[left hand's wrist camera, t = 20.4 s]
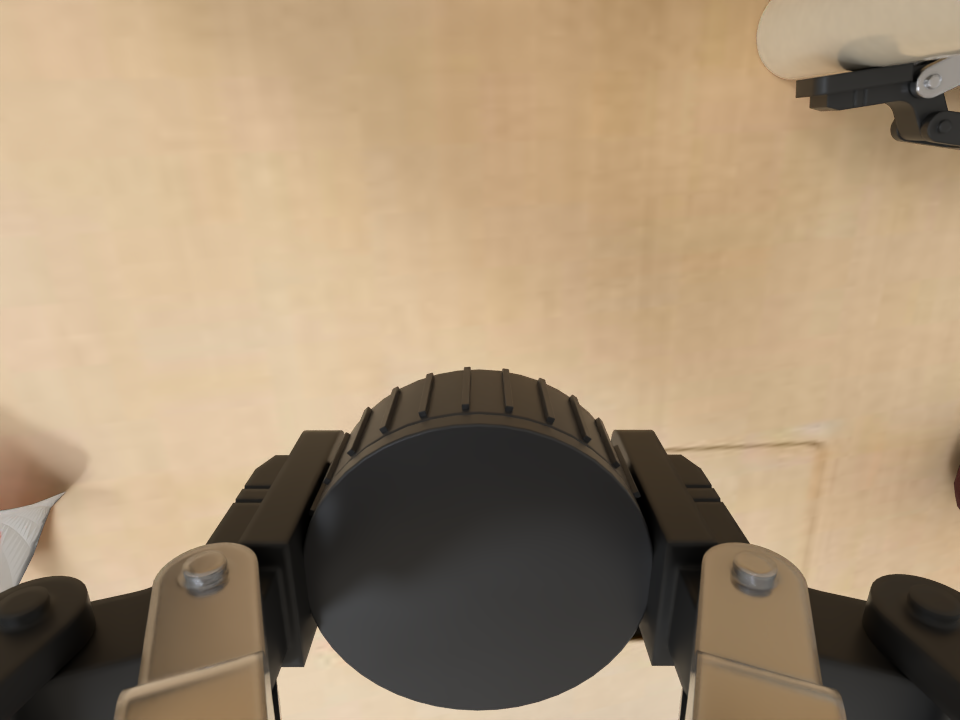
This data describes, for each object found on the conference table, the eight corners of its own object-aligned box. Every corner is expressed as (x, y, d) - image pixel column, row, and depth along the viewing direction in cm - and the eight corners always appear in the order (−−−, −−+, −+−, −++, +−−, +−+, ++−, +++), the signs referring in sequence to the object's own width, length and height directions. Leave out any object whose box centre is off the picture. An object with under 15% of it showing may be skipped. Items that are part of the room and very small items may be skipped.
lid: (684, 528, 11) (727, 611, 9) (452, 663, 12) (447, 761, 10) (511, 300, 10) (519, 342, 8) (265, 478, 11) (218, 554, 9)
